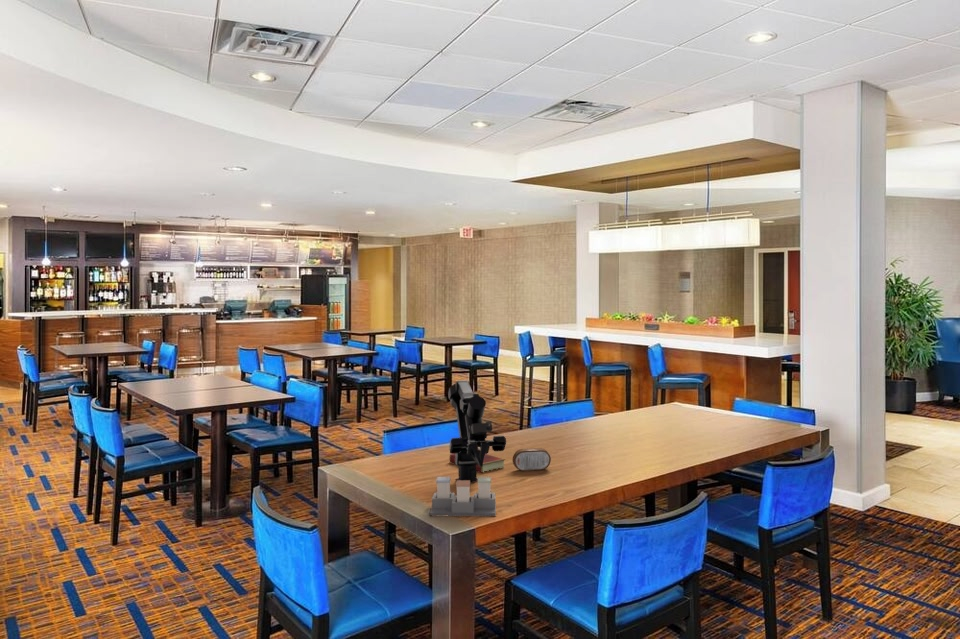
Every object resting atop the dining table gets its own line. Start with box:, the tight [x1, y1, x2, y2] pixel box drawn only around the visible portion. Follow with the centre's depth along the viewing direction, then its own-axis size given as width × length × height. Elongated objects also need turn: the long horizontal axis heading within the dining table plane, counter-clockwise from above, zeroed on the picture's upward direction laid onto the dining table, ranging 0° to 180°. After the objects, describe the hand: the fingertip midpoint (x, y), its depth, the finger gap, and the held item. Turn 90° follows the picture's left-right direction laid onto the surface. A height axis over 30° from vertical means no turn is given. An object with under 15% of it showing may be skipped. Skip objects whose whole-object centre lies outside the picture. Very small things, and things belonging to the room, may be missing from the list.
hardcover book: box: [449, 453, 506, 473], centre depth 265 cm, size 12×21×4 cm, turn 39°
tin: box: [512, 447, 552, 472], centre depth 257 cm, size 15×3×8 cm, turn 100°
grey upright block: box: [435, 476, 452, 498], centre depth 211 cm, size 4×4×7 cm
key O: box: [477, 476, 492, 498], centre depth 211 cm, size 4×4×7 cm
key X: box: [455, 480, 471, 502], centre depth 207 cm, size 4×4×7 cm
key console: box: [429, 492, 497, 517], centre depth 209 cm, size 11×20×4 cm, turn 88°
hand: (481, 466), depth 216 cm, fingers closed
